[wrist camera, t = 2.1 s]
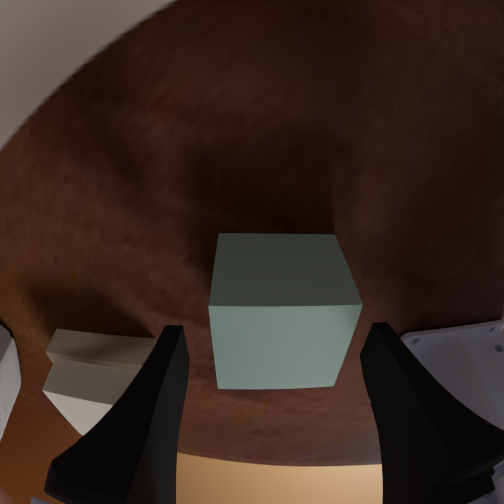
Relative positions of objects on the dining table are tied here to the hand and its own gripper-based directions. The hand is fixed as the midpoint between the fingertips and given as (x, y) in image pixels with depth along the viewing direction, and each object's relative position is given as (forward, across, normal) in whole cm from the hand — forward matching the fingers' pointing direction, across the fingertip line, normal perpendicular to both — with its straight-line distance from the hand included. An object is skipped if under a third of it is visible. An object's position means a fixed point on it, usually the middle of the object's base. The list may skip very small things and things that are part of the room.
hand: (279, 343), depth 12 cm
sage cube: (+4, 0, 0) cm, 4 cm away
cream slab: (+2, +10, +8) cm, 13 cm away
